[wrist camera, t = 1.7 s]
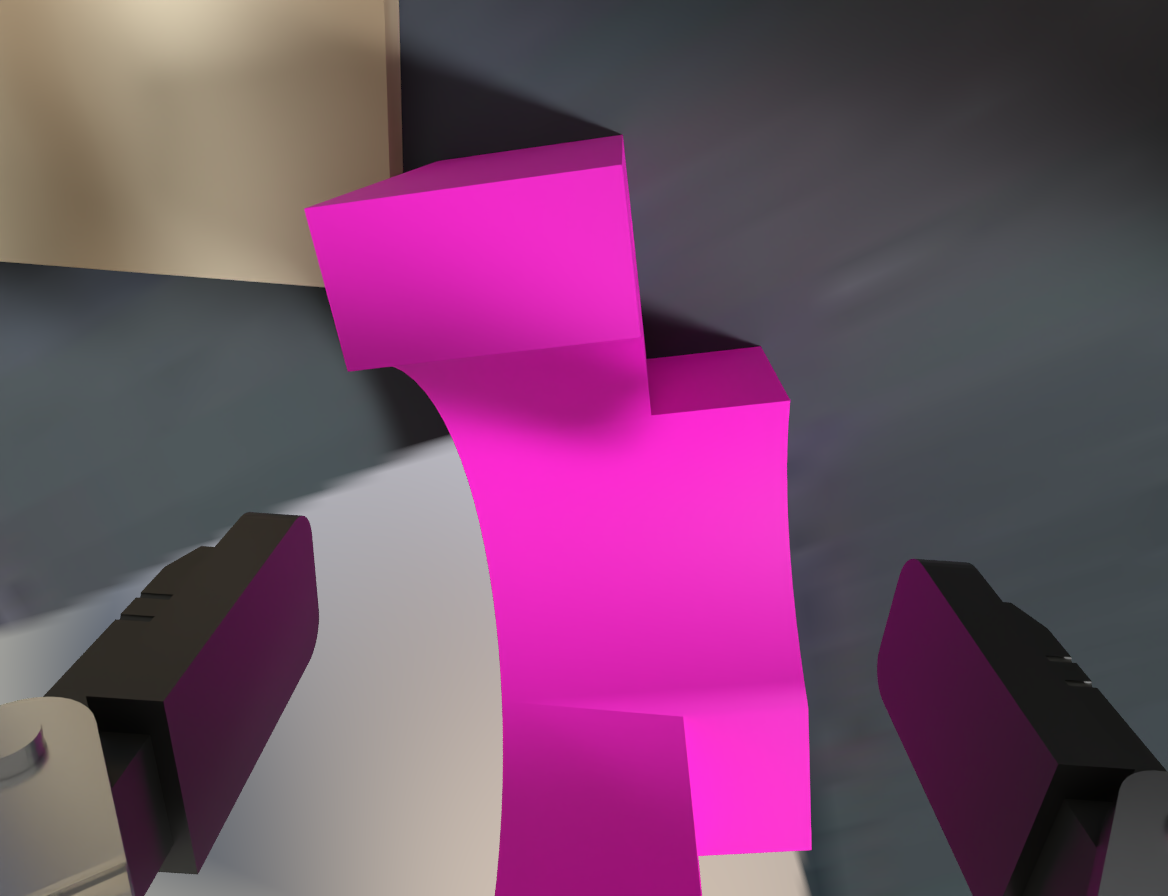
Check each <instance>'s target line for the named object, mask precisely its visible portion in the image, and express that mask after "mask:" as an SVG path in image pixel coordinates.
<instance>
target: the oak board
mask: <svg viewBox="0 0 1168 896" xmlns="http://www.w3.org/2000/svg"><path fill="white" fill-rule="evenodd" d="M400 174H403V149H402V110H401V71H400V32H399V0H0V261H1V262H13V263H26V264H38V265H51V266H64V267H76V268H89V269H101V270H114V271H126V272H139V273H152V274H164V275H177V276H189V277H202V278H214V279H227V280H240V281H252V282H265V283H277V284H290V285H302V286H315V287H325V285H324V281H323V278H322V274H321V270H320V266H319V263H318V259H317V255H316V252H315V248H314V244H313V240H312V237H311V233H310V229H309V226H308V222H307V218H306V214H305V211H304V208H307V207H310V206H313V205H316V204H318V203H321V202H324V201H327V200H330V199H332V198H335V197H338V196H341V195H344V194H346V193H349V192H352V191H355V190H358V189H361V188H363V187H366V186H369V185H372V184H375V183H377V182H380V181H383V180H386V179H389V178H391V177H394V176H397V175H400Z"/></svg>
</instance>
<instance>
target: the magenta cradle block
mask: <svg viewBox="0 0 1168 896" xmlns="http://www.w3.org/2000/svg"><path fill="white" fill-rule="evenodd" d="M304 211H305V214H306V218H307V222H308V226H309V229H310V233H311V237H312V240H313V244H314V248H315V252H316V255H317V259H318V263H319V266H320V270H321V274H322V278H323V281H324V285H325V289H326V292H327V296H328V300H329V304H330V307H331V311H332V315H333V318H334V322H335V326H336V330H337V333H338V337H339V341H340V344H341V348H342V352H343V356H344V359H345V363H346V367H347V370H348V371H357V370H365V369H374V368H382V367H391V366H393V367H395V368H397V369H399V370H401V371H403V372H404V373H406V374H407V375H408V376H409V377H411V378H412V379H413V380H415V382H416V383H417V384H418V385H419V386H420V387H421V388H422V389H423V390H424V391H425V392H426V394H427V395H428V397H429V398H430V399H431V401H432V402H433V404H434V405H435V407H436V408H437V410H438V412H439V413H440V415H441V417H442V419H443V420H444V422H445V424H446V426H447V428H448V430H449V433H450V435H451V437H452V439H453V441H454V444H455V446H456V449H457V451H458V454H459V456H460V458H461V461H462V464H463V467H464V470H465V473H466V476H467V479H468V482H469V486H470V489H471V492H472V496H473V499H474V503H475V507H476V511H477V515H478V519H479V523H480V527H481V531H482V537H483V541H484V545H485V551H486V556H487V562H488V567H489V573H490V580H491V586H492V593H493V601H494V609H495V617H496V626H497V636H498V645H499V659H500V672H501V690H502V716H503V789H502V790H503V791H502V816H501V832H500V848H499V859H498V870H497V881H496V890H495V896H702V890H701V880H700V869H699V860H698V856H706V855H724V854H742V853H743V854H745V853H764V852H783V851H802V850H811V807H810V765H809V722H808V704H807V697H806V691H805V684H804V677H803V670H802V663H801V656H800V648H799V640H798V632H797V623H796V614H795V605H794V595H793V584H792V573H791V560H790V546H789V529H788V505H787V441H788V422H789V409H790V399H789V397H788V395H787V394H786V392H785V390H784V388H783V386H782V384H781V383H780V381H779V379H778V377H777V375H776V373H775V372H774V370H773V368H772V366H771V364H770V362H769V361H768V359H767V357H766V355H765V353H764V351H763V350H762V348H761V346H759V347H750V348H741V349H732V350H723V351H715V352H706V353H697V354H688V355H680V356H671V357H662V358H653V359H646V350H645V340H644V331H643V321H642V312H641V303H640V293H639V284H638V274H637V265H636V256H635V246H634V237H633V227H632V218H631V209H630V199H629V190H628V180H627V171H626V161H625V152H624V143H623V135H617V136H610V137H603V138H596V139H589V140H582V141H575V142H568V143H561V144H554V145H546V146H539V147H532V148H525V149H518V150H511V151H504V152H497V153H490V154H483V155H476V156H469V157H462V158H455V159H448V160H441V161H437V162H434V163H431V164H428V165H425V166H422V167H420V168H417V169H414V170H411V171H408V172H406V173H403V174H400V175H397V176H394V177H391V178H389V179H386V180H383V181H380V182H377V183H375V184H372V185H369V186H366V187H363V188H361V189H358V190H355V191H352V192H349V193H346V194H344V195H341V196H338V197H335V198H332V199H330V200H327V201H324V202H321V203H318V204H316V205H313V206H310V207H307V208H304Z"/></svg>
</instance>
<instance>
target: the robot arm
mask: <svg viewBox="0 0 1168 896" xmlns="http://www.w3.org/2000/svg"><path fill="white" fill-rule="evenodd" d="M318 624H319V609H318V598H317V587H316V575H315V564H314V553H313V542H312V532H311V527H310V523H309V521H308V519H307V518H306V517H305V516H298V515H283V514H268V513H254V512H248V513H245V514H244V515H242V516H241V517H240V519H239V520H238V521H237V522H236V523H235V524H234V525H233V527H232V528H231V529H230V530H229V531H228V532H227V534H226V535H225V536H224V537H223V538H222V539H221V540H220V542H219V543H218V544H217V545H216V546H215V547H206V546H201V547H199V548H197V549H195V550H194V551H192V552H190V553H188V554H187V555H185V556H183V557H181V558H180V559H178V560H176V561H174V562H173V563H171V564H169V565H167V566H166V567H164V568H163V569H162V570H161V572H160V573H159V574H158V575H157V576H156V577H155V578H154V579H153V580H152V581H151V582H150V583H149V584H148V585H147V586H146V588H145V589H144V590H143V591H142V592H141V597H140V598H135V600H133V601H132V602H131V604H130V605H129V606H128V607H127V608H126V609H125V610H124V611H123V612H122V613H121V618H120V620H115V621H114V622H113V623H112V624H111V625H110V626H109V627H108V628H107V629H106V630H105V631H104V632H103V634H101V636H100V637H99V638H98V639H97V640H96V641H95V642H94V643H93V644H92V645H91V646H90V647H89V648H88V650H87V651H86V652H85V653H84V654H83V655H82V656H81V657H80V658H79V659H78V660H77V661H76V662H75V663H74V664H73V665H72V667H71V668H70V669H69V670H68V671H67V672H66V673H65V674H64V675H63V676H62V677H61V678H60V679H59V680H58V682H57V683H56V684H55V685H54V686H53V687H52V688H51V689H50V690H49V691H48V692H47V693H46V694H45V695H44V696H43V697H36V698H29V699H23V700H18V701H14V702H10V703H6V704H3V705H0V896H144V895H145V893H146V892H147V890H148V888H149V887H150V885H151V883H152V881H153V879H154V878H155V876H156V874H157V873H158V872H171V873H185V874H198V873H199V871H200V869H201V867H202V865H203V864H204V862H205V860H206V858H207V856H208V854H209V852H210V850H211V848H212V846H213V844H214V842H215V841H216V839H217V837H218V835H219V833H220V831H221V829H222V827H223V825H224V823H225V821H226V819H227V818H228V816H229V814H230V812H231V810H232V808H233V806H234V804H235V802H236V800H237V798H238V797H239V795H240V793H241V791H242V789H243V787H244V785H245V783H246V781H247V779H248V778H249V776H250V774H251V772H252V770H253V768H254V766H255V764H256V762H257V760H258V758H259V757H260V754H261V753H262V751H263V749H264V747H265V745H266V743H267V741H268V739H269V737H270V735H271V734H272V732H273V730H274V728H275V726H276V724H277V722H278V720H279V718H280V716H281V714H282V713H283V711H284V709H285V707H286V705H287V703H288V701H289V699H290V697H291V695H292V693H293V692H294V690H295V688H296V686H297V684H298V682H299V680H300V678H301V676H302V674H303V672H304V671H305V669H306V667H307V665H308V663H309V661H310V659H311V656H312V654H313V651H314V647H315V643H316V639H317V634H318ZM877 675H878V685H879V690H880V694H881V697H882V700H883V702H884V704H885V707H886V709H887V711H888V713H889V715H890V717H891V720H892V722H893V724H894V726H895V728H896V730H897V732H898V735H899V737H900V739H901V741H902V743H903V745H904V748H905V750H906V752H907V754H908V756H909V758H910V761H911V763H912V765H913V767H914V769H915V771H916V774H917V776H918V778H919V780H920V782H921V784H922V786H923V789H924V791H925V793H926V795H927V797H928V799H929V802H930V804H931V806H932V808H933V810H934V812H935V815H936V817H937V819H938V821H939V823H940V825H941V827H942V830H943V832H944V834H945V836H946V838H947V840H948V843H949V845H950V847H951V849H952V851H953V853H954V856H955V858H956V860H957V862H958V864H959V866H960V869H961V871H962V873H963V875H964V877H965V879H966V881H967V884H968V886H969V888H970V890H971V892H972V894H973V896H1168V772H1167V771H1166V770H1165V768H1164V767H1163V766H1162V765H1161V764H1160V762H1159V761H1158V760H1157V759H1156V758H1155V757H1154V755H1153V754H1152V753H1151V752H1150V751H1149V749H1148V748H1147V747H1146V746H1145V745H1144V743H1143V742H1142V741H1141V740H1140V739H1139V737H1138V736H1137V735H1136V734H1135V733H1134V731H1133V730H1132V729H1131V728H1130V727H1129V725H1128V724H1127V723H1126V722H1125V721H1124V719H1123V718H1122V717H1121V716H1120V715H1119V713H1118V712H1117V711H1116V710H1115V709H1114V708H1113V706H1112V705H1111V704H1110V703H1109V702H1108V700H1107V699H1106V698H1105V697H1104V696H1103V694H1102V693H1101V692H1100V691H1099V690H1098V688H1092V685H1091V683H1092V681H1091V680H1090V679H1089V678H1088V676H1087V675H1086V674H1085V673H1084V672H1083V670H1082V669H1081V668H1080V667H1079V666H1078V664H1077V663H1072V662H1071V656H1070V655H1069V654H1068V653H1067V651H1066V650H1065V649H1064V648H1063V647H1062V645H1061V644H1060V643H1059V642H1058V641H1057V639H1056V638H1055V637H1054V636H1053V635H1052V633H1051V632H1050V631H1049V630H1048V629H1047V628H1046V627H1045V626H1043V625H1042V624H1040V623H1039V622H1038V621H1036V620H1035V619H1033V618H1032V617H1030V616H1029V615H1028V614H1026V613H1025V612H1023V611H1022V610H1021V609H1019V608H1018V607H1016V606H1015V605H1013V604H1012V603H1007V602H1002V600H1001V599H1000V598H999V596H998V595H997V594H996V593H995V591H994V590H993V589H992V588H991V586H990V585H989V584H988V583H987V581H986V580H985V579H984V578H983V576H982V575H981V574H980V572H979V571H978V570H977V569H976V568H975V567H974V566H973V565H972V564H970V563H966V562H952V561H937V560H922V559H911V560H909V561H907V562H906V563H905V565H904V566H903V568H902V571H901V573H900V576H899V580H898V584H897V587H896V591H895V595H894V598H893V602H892V606H891V609H890V613H889V617H888V620H887V624H886V628H885V631H884V635H883V639H882V642H881V646H880V650H879V654H878V664H877Z"/></svg>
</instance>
